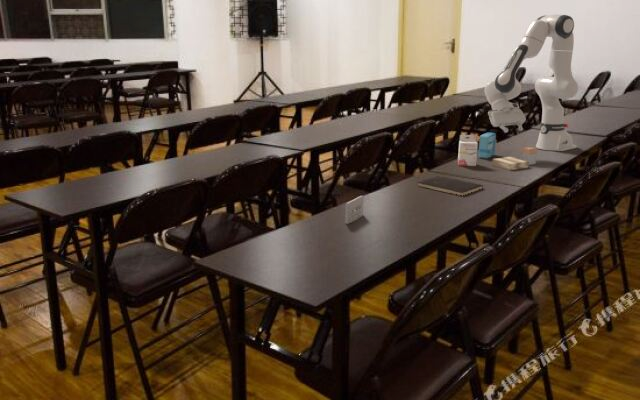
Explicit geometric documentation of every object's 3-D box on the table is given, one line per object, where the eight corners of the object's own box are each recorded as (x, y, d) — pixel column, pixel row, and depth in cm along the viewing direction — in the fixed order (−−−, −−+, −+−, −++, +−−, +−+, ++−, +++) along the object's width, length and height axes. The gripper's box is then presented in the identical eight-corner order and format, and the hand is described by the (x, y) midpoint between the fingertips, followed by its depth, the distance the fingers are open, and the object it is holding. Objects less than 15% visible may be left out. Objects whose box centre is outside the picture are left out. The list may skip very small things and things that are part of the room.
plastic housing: (529, 162, 297) (531, 146, 294) (535, 163, 293) (536, 148, 291) (521, 163, 295) (523, 147, 292) (527, 164, 291) (529, 149, 289)
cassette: (360, 214, 221) (360, 195, 219) (364, 215, 220) (364, 195, 218) (344, 223, 212) (344, 203, 209) (348, 224, 211) (348, 204, 208)
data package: (486, 159, 304) (488, 136, 300) (478, 158, 306) (479, 135, 303) (494, 154, 313) (496, 132, 310) (486, 153, 316) (488, 131, 312)
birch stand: (511, 162, 297) (511, 156, 296) (528, 167, 286) (528, 161, 285) (492, 164, 292) (492, 159, 291) (509, 170, 282) (509, 164, 281)
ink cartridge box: (458, 165, 291) (460, 136, 287) (457, 163, 296) (459, 134, 291) (476, 166, 290) (478, 136, 286) (474, 163, 295) (476, 134, 290)
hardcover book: (462, 197, 242) (462, 192, 241) (417, 187, 258) (417, 181, 257) (482, 189, 252) (483, 184, 252) (438, 180, 268) (438, 175, 268)
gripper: (489, 107, 299) (501, 129, 293) (520, 104, 307) (532, 125, 302) (483, 114, 304) (494, 136, 299) (514, 111, 312) (525, 132, 307)
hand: (514, 131), depth 300 cm, fingers open, 8 cm apart
